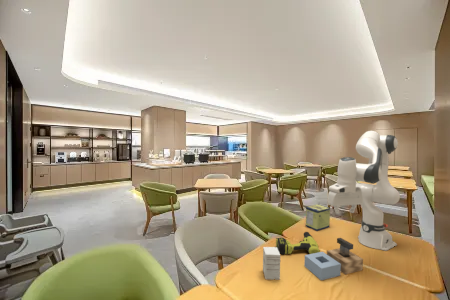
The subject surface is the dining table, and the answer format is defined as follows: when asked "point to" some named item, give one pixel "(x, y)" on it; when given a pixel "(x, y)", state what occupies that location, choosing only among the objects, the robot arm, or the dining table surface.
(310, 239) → the cordless drill
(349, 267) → the stand
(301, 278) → the dining table surface
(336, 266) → the block
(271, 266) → the supplement box
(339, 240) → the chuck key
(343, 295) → the dining table surface
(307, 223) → the protein box
